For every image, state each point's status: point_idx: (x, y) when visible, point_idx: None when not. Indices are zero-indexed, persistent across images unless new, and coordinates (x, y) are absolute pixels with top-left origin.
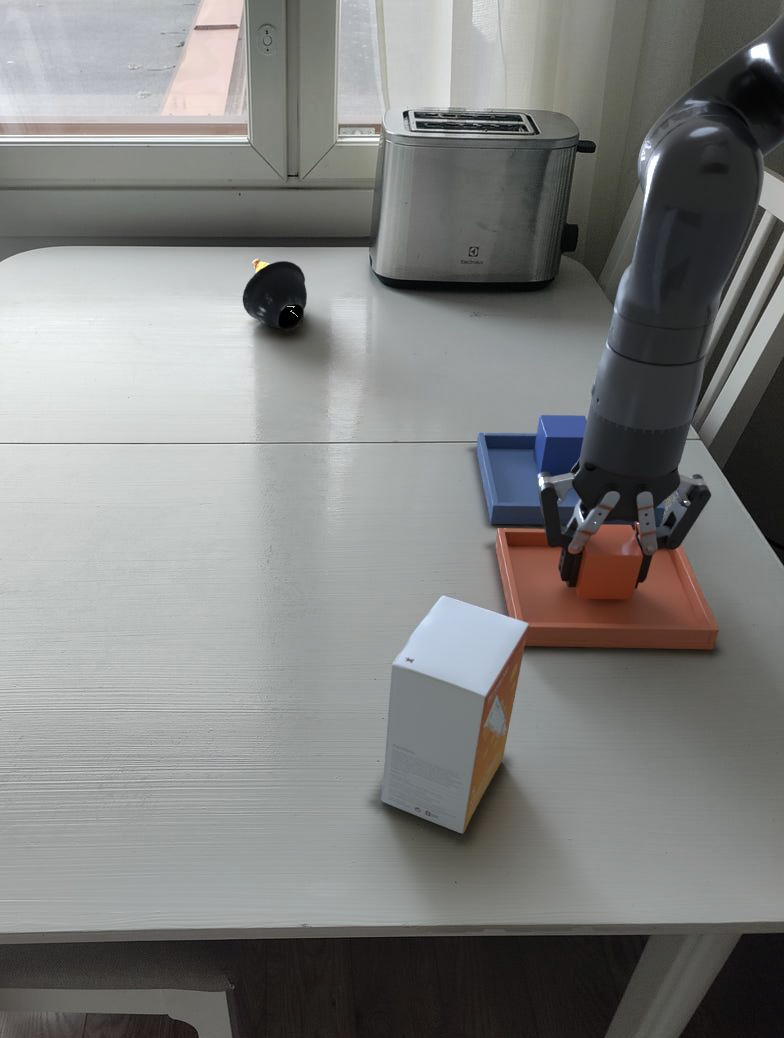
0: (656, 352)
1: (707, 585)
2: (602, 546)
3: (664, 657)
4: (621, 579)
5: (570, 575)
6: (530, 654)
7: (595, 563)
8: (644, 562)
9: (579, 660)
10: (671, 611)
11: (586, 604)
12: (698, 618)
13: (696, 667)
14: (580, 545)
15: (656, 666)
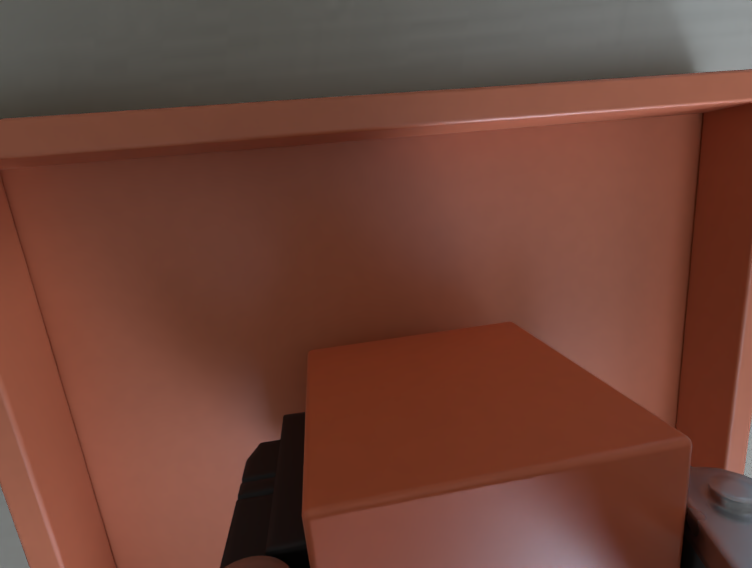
0: None
1: (6, 529)
2: (576, 552)
3: (190, 75)
4: (384, 387)
5: None
6: (661, 51)
7: (584, 412)
8: (264, 522)
9: (508, 29)
10: (147, 335)
11: (460, 325)
12: (26, 294)
13: (55, 17)
14: (730, 521)
15: (225, 12)
